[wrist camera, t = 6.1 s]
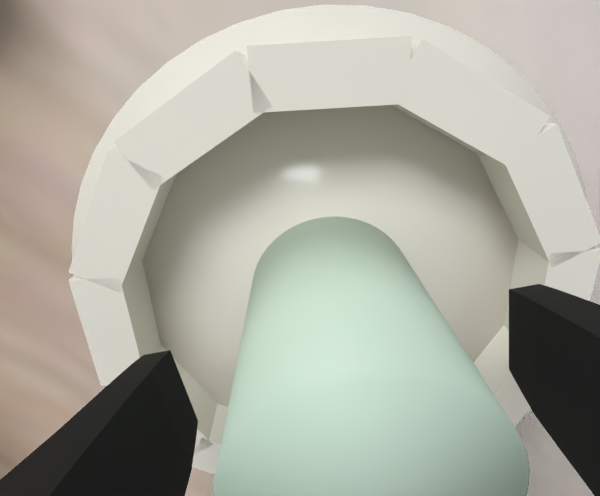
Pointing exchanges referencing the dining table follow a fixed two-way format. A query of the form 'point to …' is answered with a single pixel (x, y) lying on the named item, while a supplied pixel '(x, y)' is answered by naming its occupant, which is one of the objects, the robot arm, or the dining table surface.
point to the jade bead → (357, 381)
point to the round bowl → (322, 189)
